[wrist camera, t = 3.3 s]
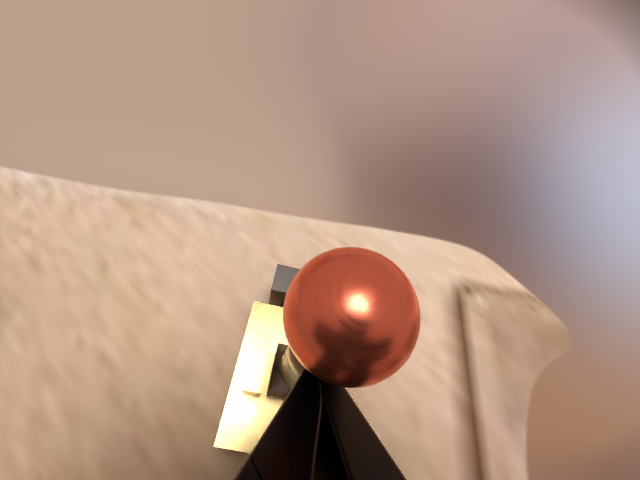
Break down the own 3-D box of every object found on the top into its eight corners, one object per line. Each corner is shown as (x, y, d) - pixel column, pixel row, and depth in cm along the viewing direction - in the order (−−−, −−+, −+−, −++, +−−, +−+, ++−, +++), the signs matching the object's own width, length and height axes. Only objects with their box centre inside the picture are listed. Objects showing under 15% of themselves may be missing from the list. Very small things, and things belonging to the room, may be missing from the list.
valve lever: (311, 409, 16) (451, 397, 5) (258, 398, 16) (272, 360, 4) (319, 354, 17) (445, 240, 6) (271, 344, 17) (306, 207, 6)
